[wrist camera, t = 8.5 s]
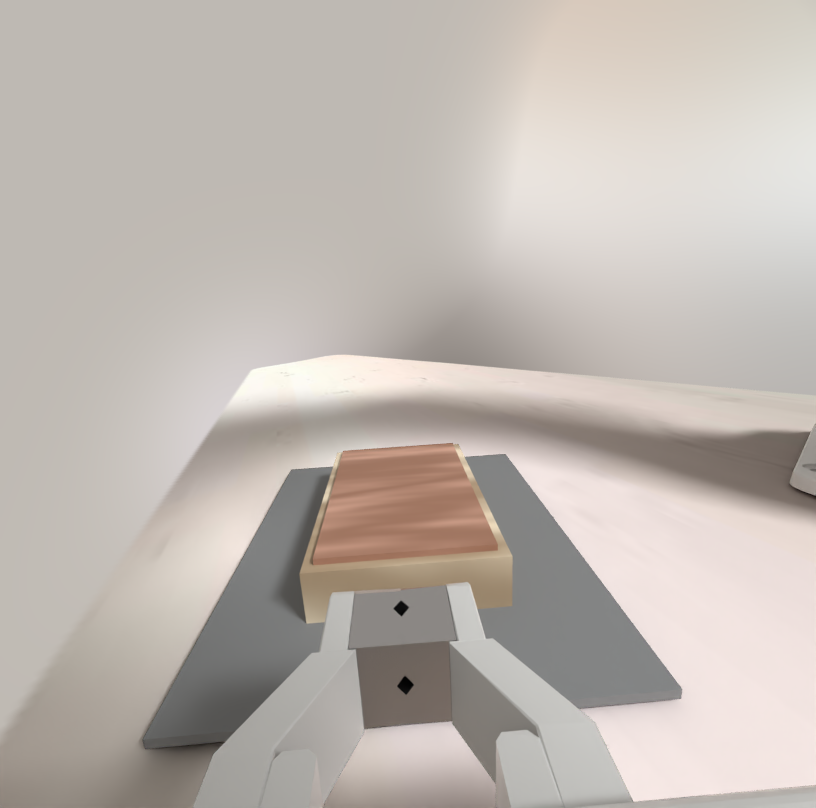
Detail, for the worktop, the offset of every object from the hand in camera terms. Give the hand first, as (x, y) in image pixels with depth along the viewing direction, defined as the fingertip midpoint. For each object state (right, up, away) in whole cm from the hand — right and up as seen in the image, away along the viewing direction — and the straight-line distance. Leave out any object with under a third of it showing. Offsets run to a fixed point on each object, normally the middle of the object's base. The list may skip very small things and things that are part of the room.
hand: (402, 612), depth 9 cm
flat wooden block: (0, -3, +9) cm, 9 cm away
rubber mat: (0, -3, +16) cm, 16 cm away
